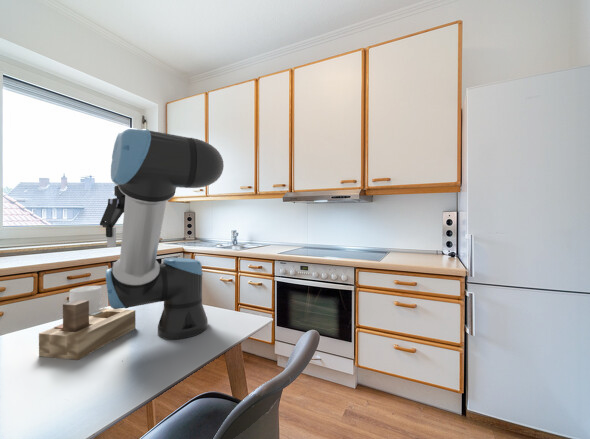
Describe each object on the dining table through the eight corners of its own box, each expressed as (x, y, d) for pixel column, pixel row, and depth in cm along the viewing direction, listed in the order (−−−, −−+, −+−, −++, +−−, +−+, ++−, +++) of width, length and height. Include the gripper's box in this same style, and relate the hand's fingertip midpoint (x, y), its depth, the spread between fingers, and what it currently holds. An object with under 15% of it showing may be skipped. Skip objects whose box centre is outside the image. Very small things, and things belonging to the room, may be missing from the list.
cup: (84, 329, 88) (84, 293, 88) (62, 327, 90) (61, 291, 90) (108, 319, 97) (108, 286, 97) (87, 317, 99) (87, 284, 99)
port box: (135, 328, 90) (135, 309, 89) (77, 359, 70) (77, 335, 70) (103, 325, 91) (103, 307, 91) (39, 356, 72) (38, 332, 72)
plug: (89, 342, 77) (88, 300, 77) (75, 349, 73) (75, 305, 73) (77, 341, 78) (76, 299, 78) (63, 348, 74) (62, 304, 74)
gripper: (142, 189, 110) (142, 241, 110) (85, 181, 86) (86, 248, 86) (159, 189, 109) (159, 241, 109) (106, 181, 84) (107, 249, 85)
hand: (127, 244), depth 98 cm, fingers open, 13 cm apart
